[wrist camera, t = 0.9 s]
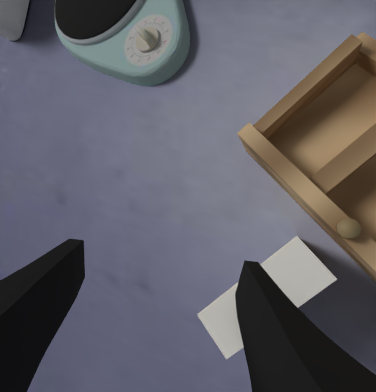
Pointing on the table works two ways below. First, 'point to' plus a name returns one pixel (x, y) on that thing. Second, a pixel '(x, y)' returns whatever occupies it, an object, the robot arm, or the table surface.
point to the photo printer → (12, 18)
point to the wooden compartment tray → (328, 147)
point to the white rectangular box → (285, 279)
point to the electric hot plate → (126, 37)
